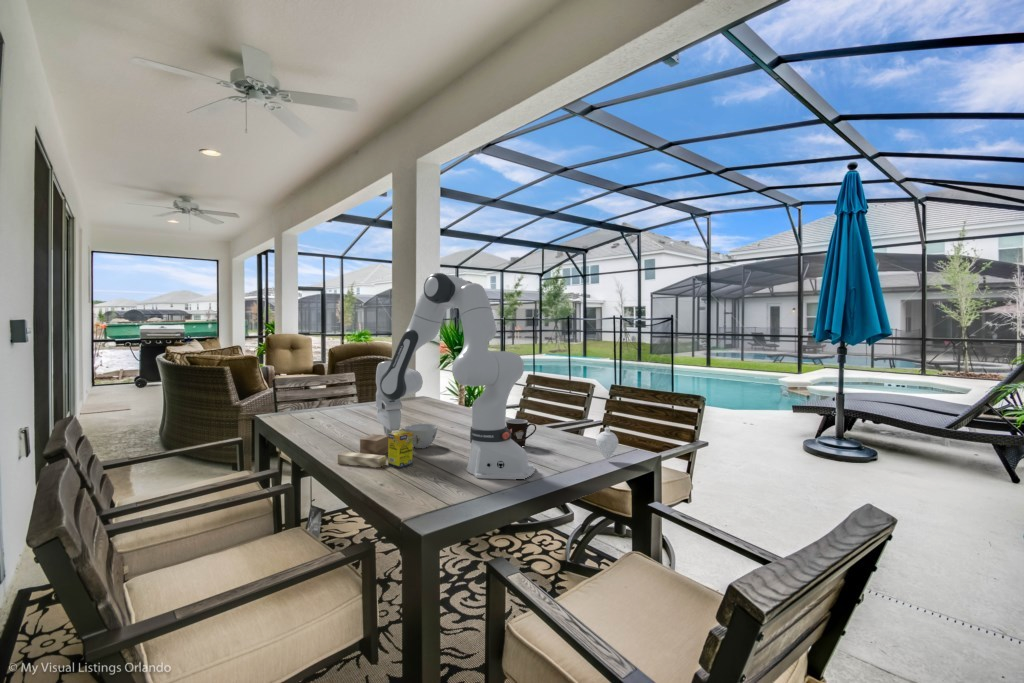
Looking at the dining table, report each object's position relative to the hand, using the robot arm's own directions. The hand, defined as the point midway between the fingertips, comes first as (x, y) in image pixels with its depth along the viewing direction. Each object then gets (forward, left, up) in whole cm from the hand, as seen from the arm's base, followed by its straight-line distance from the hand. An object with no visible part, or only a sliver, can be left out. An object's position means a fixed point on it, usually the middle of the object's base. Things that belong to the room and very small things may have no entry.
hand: (387, 437), depth 181 cm
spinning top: (-83, -6, -4) cm, 83 cm away
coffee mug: (-49, -16, -4) cm, 52 cm away
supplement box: (-16, +19, -4) cm, 25 cm away
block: (0, +9, -4) cm, 10 cm away
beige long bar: (-3, +22, -4) cm, 23 cm away
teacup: (-11, -4, -4) cm, 12 cm away
